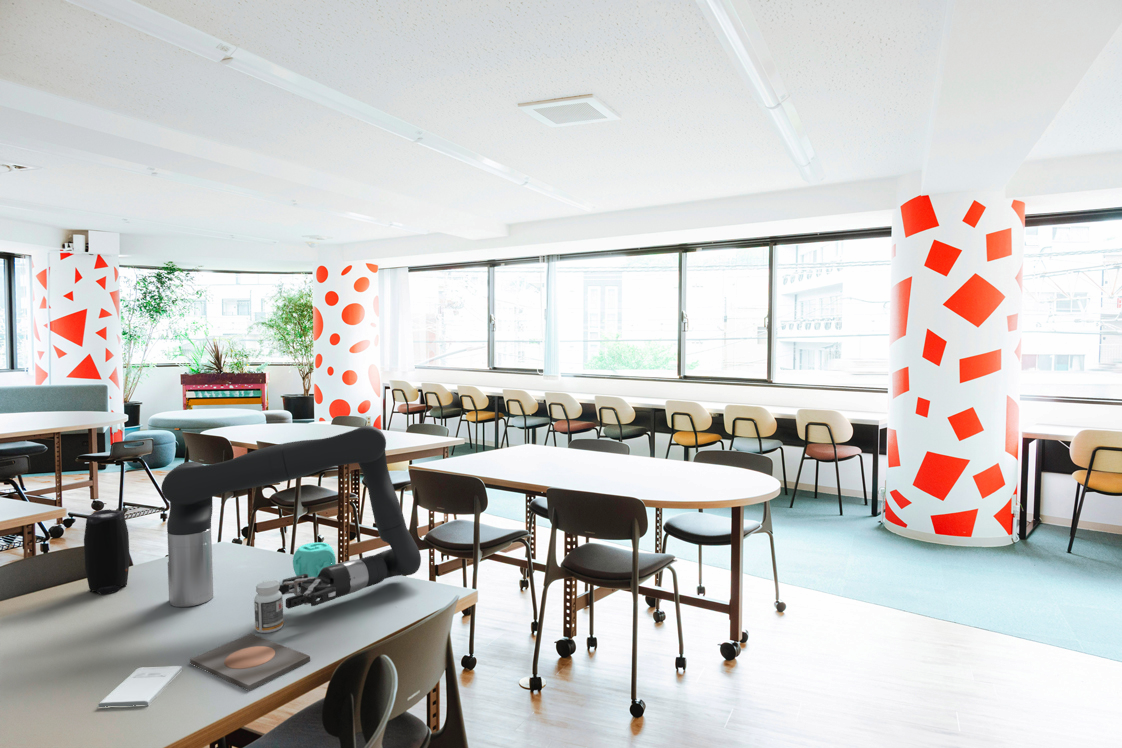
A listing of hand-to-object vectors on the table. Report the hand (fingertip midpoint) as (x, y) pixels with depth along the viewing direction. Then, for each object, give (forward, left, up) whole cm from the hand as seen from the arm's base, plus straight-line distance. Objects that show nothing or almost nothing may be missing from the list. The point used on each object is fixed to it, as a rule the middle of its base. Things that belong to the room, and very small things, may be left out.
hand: (277, 598), depth 147 cm
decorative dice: (-18, +24, -6) cm, 31 cm away
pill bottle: (0, -2, -6) cm, 6 cm away
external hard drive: (+2, -29, -7) cm, 30 cm away
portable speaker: (-55, -9, -6) cm, 56 cm away
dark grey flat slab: (+10, -13, -6) cm, 18 cm away
